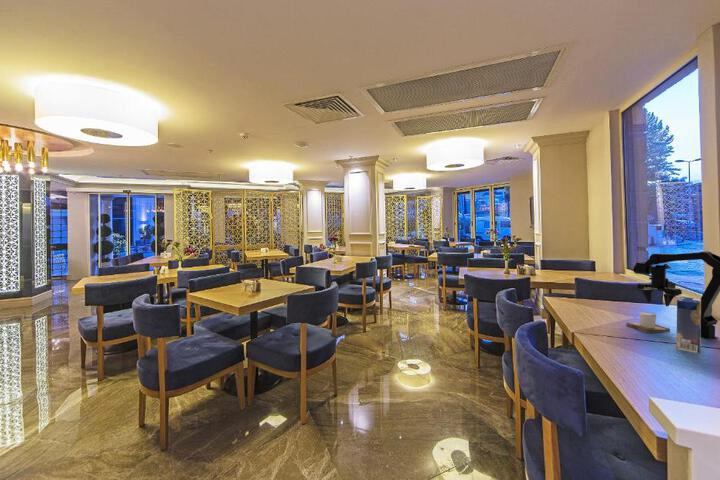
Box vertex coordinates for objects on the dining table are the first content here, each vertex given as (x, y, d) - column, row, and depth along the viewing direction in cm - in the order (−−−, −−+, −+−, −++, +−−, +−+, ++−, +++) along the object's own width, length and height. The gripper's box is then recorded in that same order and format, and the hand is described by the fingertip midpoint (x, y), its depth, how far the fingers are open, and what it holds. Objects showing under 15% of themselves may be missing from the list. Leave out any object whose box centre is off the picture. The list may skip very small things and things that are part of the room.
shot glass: (660, 328, 159) (660, 315, 159) (644, 328, 160) (645, 315, 160) (650, 324, 166) (650, 311, 166) (635, 324, 167) (635, 311, 167)
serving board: (669, 331, 157) (669, 328, 157) (647, 332, 157) (647, 329, 157) (647, 324, 169) (647, 321, 169) (626, 325, 169) (626, 322, 169)
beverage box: (700, 346, 138) (701, 298, 137) (699, 353, 131) (700, 303, 130) (678, 342, 143) (679, 296, 142) (676, 348, 136) (677, 300, 135)
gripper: (691, 278, 157) (691, 308, 158) (653, 273, 176) (653, 299, 177) (672, 279, 156) (671, 308, 157) (636, 273, 175) (636, 300, 176)
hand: (658, 304), depth 167 cm, fingers open, 9 cm apart
